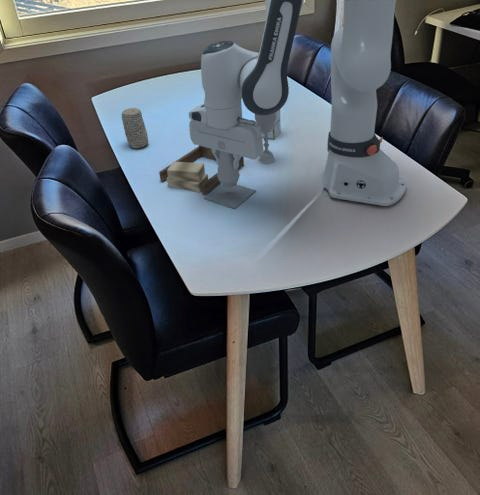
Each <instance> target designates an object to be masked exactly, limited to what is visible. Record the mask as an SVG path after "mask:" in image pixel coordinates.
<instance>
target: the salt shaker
mask: <svg viewBox="0 0 480 495" xmlns="http://www.w3.org/2000/svg"><path fill="white" fill-rule="evenodd" d="M218 147H219V148H220V149H225V143H224V142H222V141H218ZM234 159H235V158H234V157H233V154H230V153H227V152H223V151H220V152H219V162H218V164H217V166H218V167H217V172H216V173H217V177H218V180H219V181H220V183H221V184H220V185H223V186H224V187H233V186H235V185H236V184H237V185H238V181H239V179H240V175H241V174H240V172H239V170H238V168H237V169H233V167H232V164H231V163H232V162H233V161H234Z"/></svg>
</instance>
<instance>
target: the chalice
mask: <svg viewBox="0 0 480 495" xmlns="http://www.w3.org/2000/svg"><path fill="white" fill-rule="evenodd" d="M254 119H255V120H254V121H256V123H257V124H258V125H259V126H260V127H261V132H262V133H264V135H265V136H264V138H263V148H264V149H263V153H262V154H261V155H260V156H259V157H258V158H257V159H258V160H257V161H258V162H259V164H263V165H269V164H272V163H274V162H275V161H276V158H275V156H274V153H273V152H272V151H271V150H269V147H270V143H269V140H270V139H269V138H268V133H270V132H271V130H272V128H273V126H274V124H275V121H276V112H275V113H273V114H270V115H257V114H254Z"/></svg>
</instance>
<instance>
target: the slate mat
mask: <svg viewBox="0 0 480 495" xmlns="http://www.w3.org/2000/svg"><path fill="white" fill-rule="evenodd" d="M256 191H257V190H256V189H254V188H250V187H246V186H244V185H240V184H238V183H237V184H236V185H235V186H233V187H224V186H223V185H222V184H219V185H218V186H217V188H216V187H215V188H214V189H213V190H212V191H210V192H209V193H208V194H206V195H205V197H203V199H204V200H206V201H208V202H213V203H215V204H217V205H222V206H224V207H227V208H231V209H232V210H233V209H234V210H236V209H238V208H239V206H241V205H242V204H243V203H245V201H246V200H247V199H249V198H250V197H251V196H252V195H253V194H255V193H256Z"/></svg>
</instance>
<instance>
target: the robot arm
mask: <svg viewBox="0 0 480 495" xmlns="http://www.w3.org/2000/svg"><path fill="white" fill-rule="evenodd" d="M304 1H305V0H264V3H265V24H264V29H263V32H262V37H261V43H260V46H259V47H260V48H259V52H257V51H253V50H252V51H251V50H248V49H245V48H243V47H241V46H239V45H238V44H236V43H235V42H234V41H232V40H221V41H217V42H213V43H211V44H210V45H208V46H206V48H205V49H204V50H203V52H202V54H201V59H200V70H201V71H200V72H201V73H200V74H201V86H202V89H203V92H204V101H203V104H200V105H198V106H196V107H195V108H192V109H191V110H190V111H189V112H188V118H189V124H188V126H189V128H188V129H189V138H190V140H191V142H192V143H193V144H194V145H197V146H199V145H200V146H203V147H207V148H211V149H212V153H213V155H214V156H215V158H216V160H215V162H216V165H218V162H219V152H220V151H223V152H227V153H230V154H233V157H234V158H235V159H234V161H233V162H232V163H231V164H232V167H233V169H237V168H238V167H239V160H240V158H241V157H244V158H246V159H250V160H257V159H259V157H260V155H261V154H262V153H263V151H264V141H263V138H262V136H261V127H260V126H259V125H258V124H257V123H256V120H254V119H247V118H244V117H243V109H242V108H243V107H242V102H243V106H245V109H247V110H248V111H250V113H253V114H254V115H255V114H257V115H270V114H273V113H275V112H277V111H278V110H280V111H281V109H282V108H283V107H284V106H285V104H286V102H287V101H288V99H289V98H288V97H289V94H290V92H289V90H290V87H289V81H288V65H289V60H290V57H291V54H292V53H291V52H292V48H293V44H294V38H295V37H296V36H295V35H296V32H297V31H296V30H297V27H298V22H299V17H300V14H301V9H302V8H303V7H302V6H303V5H304ZM396 3H397V0H343V26H341V27H340V28H339V29H338V30H337V31H336V32H335V33H334V35H333V37H332V39H331V44H330V87H331V88H330V89H331V90H330V91H331V113H330V114H331V115H330V131H329V132H328V136H327V143H326V144H327V148H326V149H327V157H326V158H327V160H326V163H325V166H324V167H325V168H324V171H323V174H322V177H321V183H322V185H323V187H324V189H325V190H327V191H328V195H329V197H331V198H334V199H338V200H339V199H340V200H346V201H351V202H358V203H364V204H369V205H375V206H376V205H377V206H383V207H388V206H391V205H394V204H395V203H397V202H398V201H400V199H402V197H403V196H404V195H405V193H406V190H407V182H406V180H405V179H404V178H402V177H401V178H400V172H399V166H398V164H397V163H396V162H395V161H394V160H393V159H392V158H390V157H389V155H388V154H386V153H385V152H384V151H383V150H382V149H381V144H382V142H383V136H381V138H378V137H377V135H376V133H375V128H376V127H375V126H376V121H377V120H376V119H377V111H378V97H377V89H380V88H381V87H382V86H384V84H385V83H386V81H387V80H388V79H389V76H390V74H391V69H392V61H391V58H392V57H391V56H392V54H391V53H392V44H393V35H394V24H395V22H394V21H395V12H396V11H395V9H396ZM218 141H222V142H224V143H225V149H220V148H219V147H218Z"/></svg>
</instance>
